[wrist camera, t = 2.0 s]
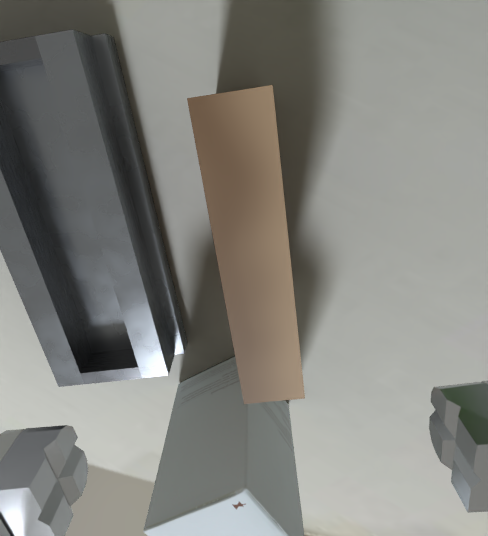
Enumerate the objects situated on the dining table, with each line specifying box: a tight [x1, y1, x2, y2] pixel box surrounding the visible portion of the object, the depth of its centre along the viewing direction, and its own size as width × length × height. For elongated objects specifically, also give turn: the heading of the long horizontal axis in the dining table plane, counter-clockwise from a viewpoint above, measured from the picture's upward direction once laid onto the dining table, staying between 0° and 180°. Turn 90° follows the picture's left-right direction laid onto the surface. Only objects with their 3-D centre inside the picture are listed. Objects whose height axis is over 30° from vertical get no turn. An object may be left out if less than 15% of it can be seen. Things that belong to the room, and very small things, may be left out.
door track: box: [0, 29, 187, 387], centre depth 26 cm, size 10×22×4 cm, turn 8°
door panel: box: [187, 85, 305, 404], centre depth 22 cm, size 3×14×12 cm, turn 8°
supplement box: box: [144, 357, 304, 536], centre depth 29 cm, size 7×7×13 cm
